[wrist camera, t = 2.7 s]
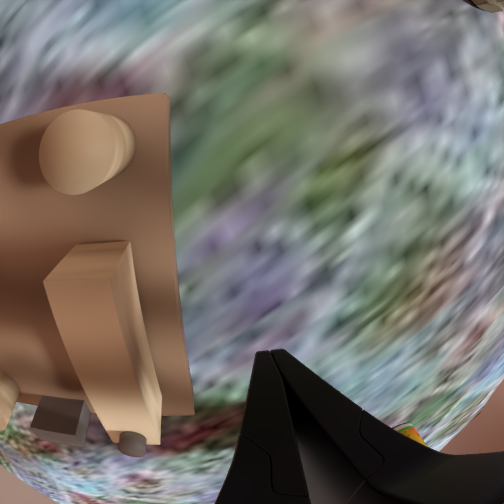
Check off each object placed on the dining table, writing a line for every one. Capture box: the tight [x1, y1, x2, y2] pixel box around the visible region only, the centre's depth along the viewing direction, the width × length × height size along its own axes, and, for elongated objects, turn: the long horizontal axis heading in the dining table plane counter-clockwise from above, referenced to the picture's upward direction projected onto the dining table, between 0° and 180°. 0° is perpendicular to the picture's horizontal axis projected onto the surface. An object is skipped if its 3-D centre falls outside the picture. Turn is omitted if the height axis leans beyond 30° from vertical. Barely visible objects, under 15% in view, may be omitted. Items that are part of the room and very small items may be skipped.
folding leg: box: [43, 241, 162, 457], centre depth 11 cm, size 10×3×4 cm, turn 179°
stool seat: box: [0, 93, 195, 447], centre depth 11 cm, size 18×16×6 cm
